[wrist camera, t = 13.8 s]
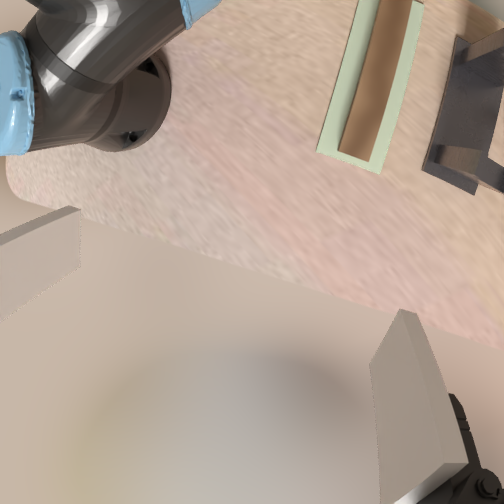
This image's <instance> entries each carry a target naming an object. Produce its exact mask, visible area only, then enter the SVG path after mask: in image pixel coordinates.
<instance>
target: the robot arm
mask: <svg viewBox="0 0 504 504" xmlns="http://www.w3.org/2000/svg"><path fill="white" fill-rule="evenodd" d="M26 1H28V2H29V3H31V4H33V5H34V6H35V7H37V8H38V9H39V10H38V11H37V13H36V14H35V15H34V17H33V18H32V19H31V20H30V22H29V23H28V24H27V25H26V27H25V28H24V29H23V30H22V31H21V32H20V33H18V32H17V31H8V32H5V33H2V34H0V156H7V155H23V154H25V153H26V152H31V151H36V150H42V149H47V148H53V147H59V146H66V145H72V144H78V143H84V144H87V145H89V146H92V147H95V148H97V149H100V150H103V151H107V152H119V151H126V150H131V149H134V148H136V147H139V146H140V145H142V144H144V143H145V142H146V141H148V140H149V139H150V138H151V137H152V136H153V135H154V134H155V133H156V132H157V130H158V129H159V127H160V126H161V124H162V123H163V121H164V119H165V116H166V114H167V111H168V108H169V104H170V97H171V85H170V79H169V75H168V72H167V70H166V68H165V66H164V64H163V63H162V62H161V60H160V59H159V58H158V57H157V56H155V55H154V54H153V53H155V52H156V51H157V50H158V49H160V48H161V47H162V46H164V45H165V44H166V43H168V42H169V41H170V40H172V39H173V38H174V37H176V36H177V35H179V34H180V33H181V32H183V31H184V30H186V29H187V30H188V29H190V28H191V27H192V24H193V23H194V22H196V21H197V20H198V19H200V18H201V17H202V16H204V15H205V14H206V13H208V12H209V11H211V10H212V9H213V8H215V7H216V6H217V5H219V3H220V2H221V1H222V0H26ZM80 225H81V209H78V208H75V207H72V206H66V207H64V208H61V209H58V210H56V211H54V212H51V213H48V214H46V215H44V216H41V217H39V218H36V219H34V220H32V221H29V222H27V223H25V224H22V225H20V226H18V227H15V228H13V229H11V230H9V231H7V232H4V233H2V234H0V323H1V322H2V321H4V320H5V319H6V318H8V317H9V316H10V315H12V314H13V313H14V312H16V311H17V310H18V309H20V308H21V307H23V306H24V305H25V304H27V303H28V302H29V301H31V300H32V299H34V298H35V297H37V296H38V295H39V294H41V293H42V292H44V291H45V290H47V289H48V288H50V287H51V286H53V285H54V284H56V283H57V282H58V281H60V280H62V279H63V278H64V277H66V276H67V275H69V274H71V273H72V272H73V271H75V270H77V269H78V268H80V228H81V226H80ZM369 366H370V373H371V380H372V390H373V398H374V408H375V418H376V428H377V429H376V430H377V442H378V458H379V478H380V504H504V489H502V486H501V483H500V481H499V479H498V477H497V476H496V475H495V474H494V473H493V472H491V471H489V470H487V469H482V468H481V465H480V461H479V457H478V454H477V451H476V447H475V444H474V440H473V437H472V434H471V432H470V431H469V430H470V427H469V425H468V422H467V421H466V415H465V413H464V410H463V407H462V405H461V404H460V402H459V401H458V399H457V398H456V397H455V395H454V394H450V393H448V392H447V389H446V386H445V383H444V381H443V378H442V375H441V373H440V370H439V367H438V364H437V362H436V359H435V357H434V354H433V351H432V349H431V346H430V344H429V342H428V339H427V337H426V334H425V332H424V329H423V327H422V325H421V322H420V320H419V318H418V316H417V314H416V313H413V312H410V311H406V310H403V309H399V311H398V313H397V315H396V317H395V318H394V321H393V322H392V324H391V326H390V328H389V330H388V332H387V334H386V335H385V337H384V339H383V341H382V343H381V345H380V346H379V348H378V350H377V352H376V354H375V355H374V357H373V359H372V360H371V362H370V364H369Z"/></svg>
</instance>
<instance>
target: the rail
mask: <svg viewBox="0 0 504 504" xmlns="http://www.w3.org/2000/svg"><path fill="white" fill-rule="evenodd" d="M412 1H413V0H380V1H379V5H378V9H377V13H376V17H375V21H374V25H373V29H372V33H371V36H370V40H369V44H368V47H367V51H366V55H365V58H364V62H363V66H362V69H361V73H360V76H359V80H358V83H357V87H356V90H355V93H354V97H353V100H352V103H351V107H350V110H349V113H348V117H347V120H346V123H345V126H344V130H343V133H342V136H341V139H340V142H339V146H338V149H337V151H339V152H342V153H344V154H347V155H350V156H353V157H355V158H358V159H361V160H363V161H366V162H369V160H370V157H371V154H372V151H373V148H374V144H375V141H376V138H377V135H378V132H379V129H380V125H381V122H382V119H383V115H384V112H385V109H386V105H387V102H388V98H389V95H390V91H391V88H392V84H393V81H394V77H395V73H396V69H397V66H398V62H399V58H400V54H401V50H402V46H403V42H404V37H405V33H406V29H407V24H408V20H409V15H410V11H411V6H412Z"/></svg>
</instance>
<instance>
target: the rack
mask: <svg viewBox="0 0 504 504" xmlns="http://www.w3.org/2000/svg"><path fill="white" fill-rule="evenodd" d="M503 87H504V28H503V29H501V30H499V31H497V32H495V33H493V34H491V35H489V36H487V37H485V38H483V39H481V40H479V41H478V42H476V43H474V44H470V43H468V42H467V41H465V40H463V39H461V38H459V37H456V38H455V43H454V49H453V54H452V59H451V64H450V69H449V73H448V78H447V82H446V87H445V91H444V95H443V99H442V103H441V107H440V110H439V114H438V118H437V121H436V125H435V128H434V132H433V135H432V139H431V142H430V145H429V148H428V151H427V155H426V158H425V161H424V164H423V167H422V171H424V172H427V173H429V174H431V175H433V176H435V177H437V178H439V179H442V180H444V181H446V182H448V183H450V184H452V185H454V186H456V187H458V188H460V189H462V190H464V191H466V192H468V193H470V194H472V195H475V192H476V189H477V186H478V184H479V185H482V186H484V187H487V188H489V189H492V190H494V191H497V192H499V193H501V194H504V167H502V166H501V165H499V164H498V163H496V162H494V161H493V160H491V159H489V158H488V152H489V148H490V144H491V141H492V137H493V133H494V129H495V125H496V121H497V117H498V112H499V108H500V103H501V98H502V93H503Z"/></svg>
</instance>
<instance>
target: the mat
mask: <svg viewBox="0 0 504 504" xmlns="http://www.w3.org/2000/svg"><path fill="white" fill-rule="evenodd" d="M379 1H380V0H359V3H358V7H357V10H356V14H355V18H354V22H353V25H352V29H351V33H350V36H349V40H348V44H347V47H346V51H345V54H344V58H343V62H342V65H341V69H340V72H339V76H338V79H337V83H336V86H335V89H334V93H333V96H332V100H331V103H330V106H329V110H328V113H327V117H326V120H325V123H324V127H323V130H322V133H321V136H320V140H319V143H318V146H317V149H316V152H318V153H321V154H324V155H327V156H330V157H333V158H335V159H338V160H341V161H344V162H347V163H350V164H352V165H355V166H358V167H361V168H363V169H366V170H369V171H371V172H374V173H376V174H379V175H380V172H381V169H382V166H383V163H384V160H385V157H386V154H387V151H388V148H389V145H390V142H391V138H392V135H393V132H394V129H395V125H396V122H397V118H398V115H399V112H400V108H401V105H402V101H403V97H404V94H405V90H406V86H407V82H408V79H409V75H410V71H411V67H412V62H413V58H414V54H415V50H416V45H417V41H418V36H419V31H420V27H421V22H422V17H423V11H424V6H425V5H423V4H421V3H419V2H416V1H414V0H413V1H412V6H411V11H410V15H409V20H408V24H407V29H406V33H405V37H404V42H403V46H402V50H401V54H400V58H399V62H398V66H397V69H396V73H395V77H394V81H393V84H392V88H391V91H390V95H389V98H388V102H387V105H386V109H385V112H384V115H383V119H382V122H381V125H380V129H379V132H378V135H377V138H376V141H375V144H374V148H373V151H372V154H371V157H370V160H369V162H366V161H363V160H361V159H358V158H355V157H353V156H350V155H347V154H344V153H342V152H339V151H337V149H338V146H339V142H340V139H341V136H342V133H343V130H344V126H345V123H346V120H347V117H348V113H349V110H350V107H351V103H352V100H353V97H354V93H355V90H356V87H357V83H358V80H359V76H360V73H361V69H362V66H363V62H364V58H365V55H366V51H367V47H368V44H369V40H370V36H371V33H372V29H373V25H374V21H375V17H376V13H377V9H378V5H379Z"/></svg>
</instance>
